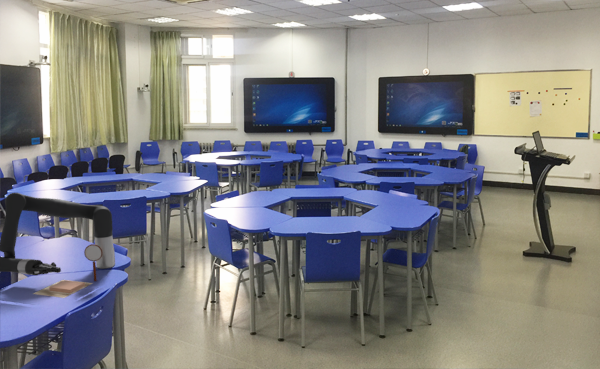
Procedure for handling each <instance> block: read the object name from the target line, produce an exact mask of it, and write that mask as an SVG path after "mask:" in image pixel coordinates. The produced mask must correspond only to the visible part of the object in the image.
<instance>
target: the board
mask: <svg viewBox="0 0 600 369" xmlns="http://www.w3.org/2000/svg"><path fill="white" fill-rule="evenodd" d="M64 280H65V279H62V280H60V281H57V282H55V283H53V284H51V285H49V286H47V287H45V288H43V289H39V290H38V291H36V292H34V293H32V295H38V296H46V297H47V296H48V297H53V298H61V299H65V298H67V297H69V296H71V295H73V294H75V293H77V292H79V291H80V290H83V289H85V288H87V287H89V286H90V285H92V284H94V282H86V281H83V282H84V283H85V287H83V288H81V289H79V290H77V291H75V292H73V293H71V294H68V293H60V292H52V291H49V287H51V286H53V285H55V284H57V283H59V282H61V281H64ZM66 280H67V279H66ZM67 281H71V280H67ZM74 281H75V282H79V281H77V280H74Z"/></svg>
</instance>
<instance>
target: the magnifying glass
mask: <svg viewBox="0 0 600 369" xmlns="http://www.w3.org/2000/svg"><path fill="white" fill-rule="evenodd" d="M83 252H84V257H85V258H86V260H88V261H91V262H92V268H93V270H92V271H93V282H97V281H98V280H97V266H96V261H97V260H99V259H100V258H101V257H102V249H101V248H100V247H99V246H98V245H95V243H93V244H89V245H87V246H86V247H85V249H84V251H83Z"/></svg>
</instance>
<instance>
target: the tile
mask: <svg viewBox="0 0 600 369" xmlns="http://www.w3.org/2000/svg"><path fill="white" fill-rule="evenodd" d="M63 280H64V281H61V280H60V281H61V282H59V281H58V282H59V283H57V282H56V283H57V284H55V283H54V284H55V285H53V284H52V285H53V286H51V287H49V291H52V292H60V293H68V294H71V293H73V292H75V291H77V290H79V289H81V288H83V287H85V283H84V282H85V281H78V282H75V281H76V280H70V281H67V279H63ZM85 288H86V287H85ZM83 289H84V288H83ZM81 290H82V289H81ZM79 291H80V290H79ZM77 292H78V291H77ZM75 293H76V292H75ZM73 294H74V293H73ZM71 295H72V294H71Z"/></svg>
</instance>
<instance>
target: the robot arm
mask: <svg viewBox="0 0 600 369" xmlns="http://www.w3.org/2000/svg"><path fill="white" fill-rule="evenodd" d="M4 203H5V204H4V205H5V219H4V223H3V227H2V231H1V235H0V252H2V253H3V256H0V272H3V273H5V272H7V273H10V272H11V273H15V274H24V275H29V276H40V275H47V274H49V273H51V274H53V273H56V274H57V273H58V274H59V273H60V272H62V270H61V269H62V268H61V267H59V266H57V264H56V263H55V262H51V263H45V262H44V263H43V261H42V260H40V259H35V258H34V259H33V258H17V257H16V251H15V248H16V244H17V238H18V229H19V222H20V218H21V214H22V213H23V211H25V212H34V213H39V214H42V215H46V216H49V217H55V218H62V219H77V218H80V219H89V220H93V229H94V231H93V234H94V244H95V245H98V246H99V247H100V248H101V249H102V257H101V258H100V259H99V260H97V261H95V265H96V269H110V268H113V267H114V266H115V264H116V255H115V254H116V253H115V247H114V239H113V214H112V211H110V209H109V208H108V207H107V206H104V205H94V204H93V205H91V204H83V203H79V202H75V201H71V200H66V199H58V198H47V197H35V196H31V195H27V194H24V193H23V194H22V193H20V192H11V193H8V195H7V196H6V197H5V199H4Z"/></svg>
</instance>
